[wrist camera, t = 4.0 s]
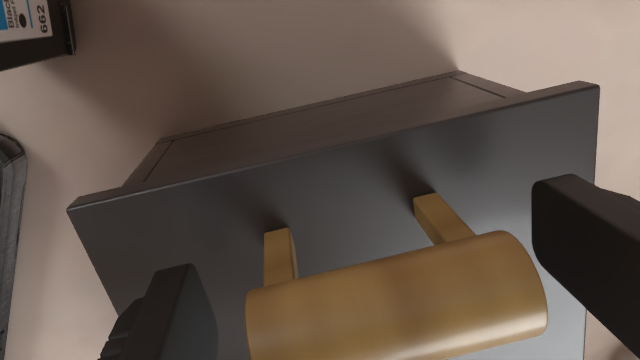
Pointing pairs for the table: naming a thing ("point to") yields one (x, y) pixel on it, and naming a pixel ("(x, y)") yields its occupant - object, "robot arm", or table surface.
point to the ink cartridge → (34, 31)
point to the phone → (9, 223)
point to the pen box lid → (367, 237)
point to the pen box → (316, 123)
